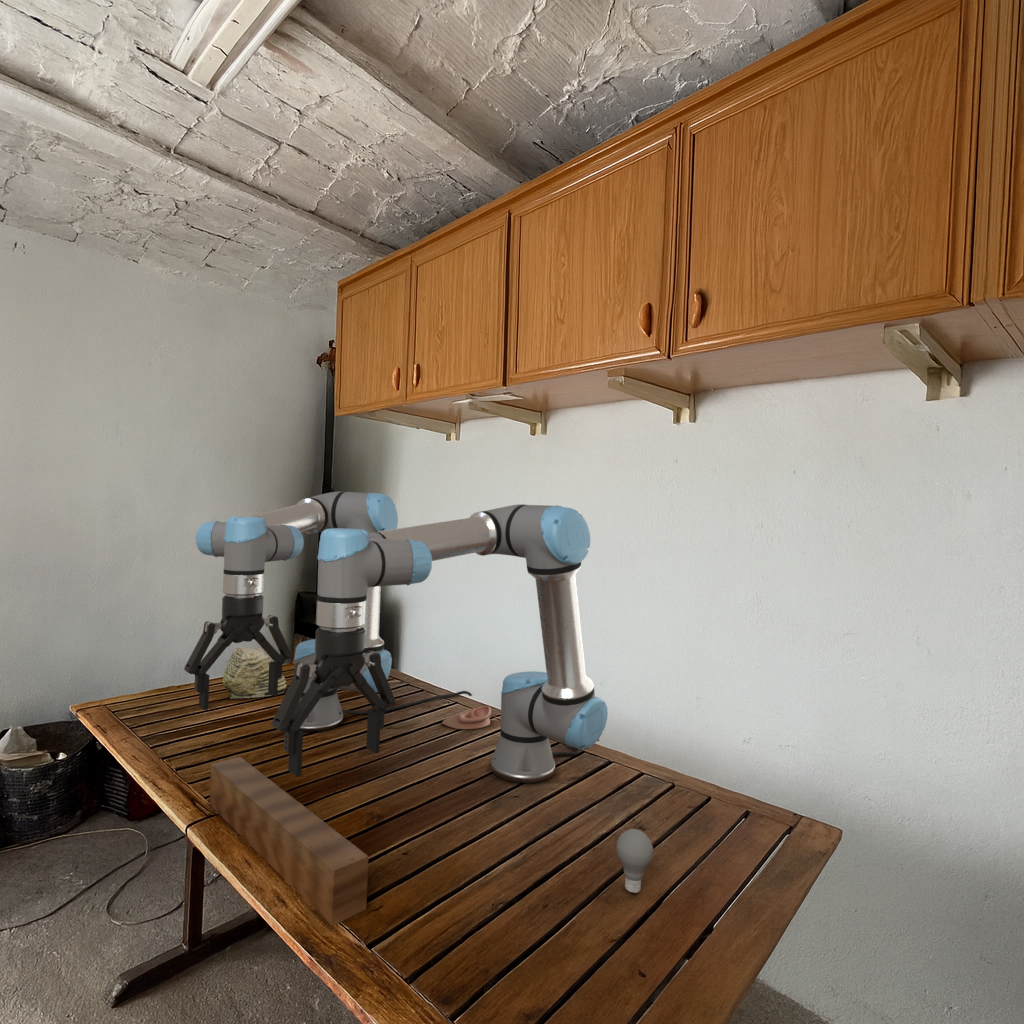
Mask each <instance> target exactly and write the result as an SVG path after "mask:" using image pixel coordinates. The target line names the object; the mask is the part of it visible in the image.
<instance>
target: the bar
mask: <svg viewBox="0 0 1024 1024" xmlns="http://www.w3.org/2000/svg"><path fill="white" fill-rule="evenodd" d="M208 803H209V804H208V805H209V806H210V807H211V808H212V809H213V810H214V811H215V812H216V813H217V814H218V815H219V816H220V817H221V818H222V819H223V820H224V821H225V822H226V823H227V824H228V825H229V826H230V827H231V828H232V830H234V831H235V832H236V833H237V834H238V835H239V836H240V837H241V838H242V839H243V840H244V841H245V842H246V843H247V844H248V845H249V846H250V847H251V848H252V849H253V850H254V851H255V852H256V853H257V854H258V855H259V856H260V857H262V859H263V860H265V862H266V863H268V864H269V865H270V867H272V869H273V870H274V871H276V873H278V874H279V875H280V876H281V877H282V879H284V881H286V882H287V883H288V884H289V885H290V886H291V888H292V889H294V890H295V891H296V892H297V893H298V894H299V895H300V897H302V898H303V899H304V900H305V901H306V902H307V904H309V905H310V906H311V908H313V909H314V910H315V911H316V912H317V913H318V914H319V915H320V916H321V918H323V919H324V920H325V921H326V922H327V923H328V924H329V925H330V926H331V927H333V926H335V925H337V924H340V923H341V922H344V921H346V920H347V919H349V918H351V917H353V916H355V915H357V914H360V913H361V912H364V911H366V910H367V903H368V902H367V900H368V899H367V898H368V878H369V876H368V875H369V855H368V854H366V853H365V852H363V851H362V849H360V848H359V847H357V846H356V845H355V844H353V843H352V842H351V841H349V840H348V839H347V838H345V837H344V836H343V835H342V834H341V833H339V832H338V831H336V830H335V829H334V828H333V827H332V826H330V825H329V824H327V823H326V822H325V821H323V819H321V818H320V817H319V816H317V815H316V814H315V813H313V812H312V811H310V809H308V808H307V807H306V806H304V805H303V804H302V803H301V802H300V801H298V800H297V799H295V798H294V797H293V796H292V795H290V794H289V793H288V792H287V791H285V790H284V789H283V788H281V787H280V786H279V785H277V784H276V783H275V782H274V781H272V780H271V779H270V778H268V777H267V776H266V775H264V773H262V772H260V771H259V770H258V769H257V768H256V767H254V766H253V765H252V764H251V763H249V762H248V761H246V759H244V758H242V757H241V756H237V757H233V758H230V759H229V758H228V759H226V760H222V761H217V762H214V763H211V764H210V776H209V802H208Z"/></svg>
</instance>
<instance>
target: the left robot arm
mask: <svg viewBox="0 0 1024 1024" xmlns="http://www.w3.org/2000/svg"><path fill="white" fill-rule="evenodd" d="M398 516H399V515H398V511H397V506H396V504H395V503H394V501H393V499H392V498H391V497H390V496H389V495H388V494H385V493H380V492H379V493H377V492H363V491H362V492H358V491H357V492H356V491H332V492H331V491H330V492H326V493H321V494H317V495H314V496H309V497H305V498H302V499H300V500H298V502H297V503H295V504H294V505H290V506H286V507H281V508H278V509H274V510H270V511H265V512H261V513H258V514H254V515H250V516H229V517H228V518H227V519H226V521H219V520H215V521H206V522H204V523H202V524H201V525H200V526H199V528H198V530H197V531H196V535H195V542H196V547H197V550H198V551H199V552H200V553H201V554H203V555H206V556H212V557H215V558H219V557H221V558H223V573H222V574H223V577H222V593H223V594H224V596H223V597H222V599H221V600H222V601H221V620H220V621H219V622H211V621H209V620H206V621H205V622H204V624H203V630H202V633H201V635H200V638H199V639H198V641H197V643H196V644H195V646H194V648H193V650H192V652H191V654H190V656H189V658H188V660H187V662H186V664H185V666H184V668H183V669H184V671H185V672H186V673H188V674H189V675H194V692H196V693H197V694H198V695H199V696H198V707H199V708H200V709H202V711H208V710H209V702H210V701H209V699H210V698H209V697H210V674H208V673H207V672H208V671H209V670H210V669H211V667H213V665H214V664H215V662H216V661H217V660H218V659H219V657H220V656H221V655H222V653H224V651H225V650H226V649H227V648H228V647H230V646H231V644H232V643H234V644H240V643H243V642H246V643H247V642H248V643H250V642H252V641H253V640H254V641H255V642H256V643H257V644H258V645H259V646H260V648H261V649H263V650H264V652H265V653H266V654H267V655H268V656H269V658H271V659H272V660H273V661H274V662H269V681H268V694H270V695H272V697H278V694H277V693H278V678H281V677H282V675H283V665H284V664H285V663H286V661H287V660H290V659H292V658H293V653H292V651H291V650H290V647H289V645H288V643H287V641H286V640H285V637H284V635H283V633H282V631H281V628H280V626H279V624H280V623H279V618H278V616H275V615H273V614H269V615H267V616H266V617H264V616H263V613H264V596H263V595H262V594H263V593H264V591H265V588H264V587H265V565H266V564H265V563H269V562H279V561H280V562H281V561H288V560H292V559H295V558H296V557H298V556H299V555H300V554H301V553H302V551H303V549H304V544H305V542H304V541H305V539H304V536H303V534H306V535H314V534H317V533H322V532H323V531H324V530H326V529H330V528H350V529H364V530H366V531H367V532H368V533H372V532H378V531H385V530H392V529H398V525H399V524H398V523H399V517H398ZM381 589H382V586H375V587H367V599H366V617H365V624H364V625H363V626H361V627H363V628H364V629H365V648H364V651H363V655H364V654H366V653H367V652H368V651H369V650H371V651H373V652H376V653H379V654H380V655H381V666H382V669H383V671H384V674H385V676H386V678H387V680H388V678H389V676H390V673H391V669H392V663H393V658H392V654H391V652H390V651H388V650H387V649H385V641H384V639H382V638H381V637H380V617H381V616H380V614H381V591H382V590H381ZM264 626H266V627H267V628H268V630H269V632H270V635H271V637H272V639H273V641H274V643H275V645H276V647H277V650H278V651H279V652H278V651H277V650H276V648H275V647H273V645H272V644H271V643H270V642H269V641H268V639H266V636H265V635H264V634H263V633H262V632H261V630H262V628H263V627H264ZM218 630H220V631H221V632H222V633H221V634H220V636H219V637H218V638H217V641H216V642H215V643H214V645H213V646H212V647H211V648H210V649H209V650H208V648H209V646H210V645H211V643H212V641H213V639H214V636H215V635H216V634H217V633H218ZM207 650H208V652H207ZM206 652H207V653H206ZM294 653H295V654H294V659H293V660H294V665H295V664H296V663H297V662H302V663H304V664H309V663H314V661H315V659H316V652H315V638H313V639H307V640H304V641H302V642H299V643H298V644H297V645H296V647H295V652H294ZM294 670H295V667H294ZM294 670H293V671H294ZM360 673H361V674H362V675H363V676H364V678H365V679H366V680H367V683H368V684H369V685H370V686H371V687H372V689H373V690H374V691H375V692H376V693H378V691H377V688H376V686H375V684H374V681H373V679H372V677H371V674H370V672H369V670H368V667H367V666H366V665H365V664H364V666H363V667H362V669H361V671H360ZM315 676H316V674H315V672H313V673H312V677H310V678H309V679H308V683H307V685H306V688H305V690H304V692H303V694H302V696H301V698H300V700H301V699H302V697H303V696H304V694H305V693H306V692H307V690H308V689H309V687H310V683H311V682H312V680H313V679H314V678H315ZM322 684H323V683H322V682H321V683H320V685H322ZM338 690H341V691H349V692H354V693H359V694H362V693H361V692H360V691H359V690H358V689H357V687H356V686H355V685H354V684H353V683H352V684H351V686H341V687H339V688H336V689H332V688H330V689H329V690H328V691H327V693H326V694H323V695H322V697H321V698H320V700H319V701H318V702H317V704H316V705H315V707H314V708H313V710H312V711H311V712H310V714H309V715H308V717H307V718H306V719H305V721H304V722H303V724H302V725H301V727H300V728H299V730H301V731H302V732H303V733H316V732H325V731H329V730H332V729H335V728H337V727H339V726H340V725H342V723H343V722H344V714H348V715H368V710H349V709H342V706H341V702H340V699H339V695H338ZM460 695H467V696H469V697H472V696H473V694H472V693H471V691H467V690H461V691H456V692H455V693H447V694H441V695H435V696H431V697H426V698H422V699H419V700H415V701H411V702H407V703H403V704H399V705H396V706H395V705H394V706H389V710H388V712H390V711H395V710H398V709H399V710H400V709H404V708H407V707H411V706H414V705H418V704H422V703H425V702H430V701H433V700H434V701H435V700H441V699H445V698H452V697H457V696H460Z"/></svg>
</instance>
